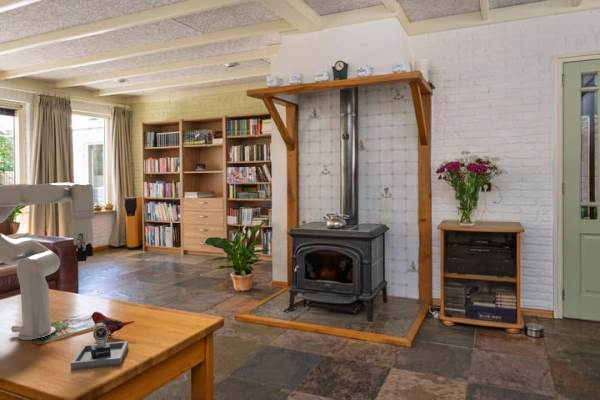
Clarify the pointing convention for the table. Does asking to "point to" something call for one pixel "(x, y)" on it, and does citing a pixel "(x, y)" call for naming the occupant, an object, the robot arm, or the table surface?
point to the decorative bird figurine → (109, 322)
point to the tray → (86, 361)
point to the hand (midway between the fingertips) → (85, 258)
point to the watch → (100, 342)
